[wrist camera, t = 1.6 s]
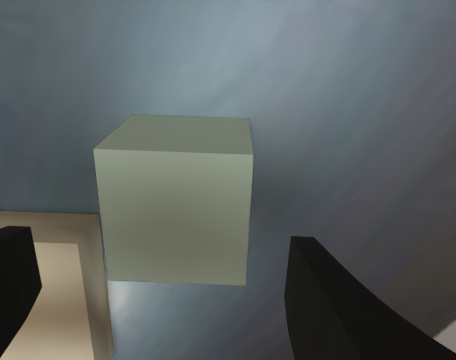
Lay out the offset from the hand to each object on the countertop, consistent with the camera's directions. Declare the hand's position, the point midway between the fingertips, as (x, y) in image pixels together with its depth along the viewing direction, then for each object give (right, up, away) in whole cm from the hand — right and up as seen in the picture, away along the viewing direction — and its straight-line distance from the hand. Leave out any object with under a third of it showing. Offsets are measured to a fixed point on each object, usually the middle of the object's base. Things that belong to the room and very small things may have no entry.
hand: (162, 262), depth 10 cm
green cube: (0, +3, +7) cm, 7 cm away
